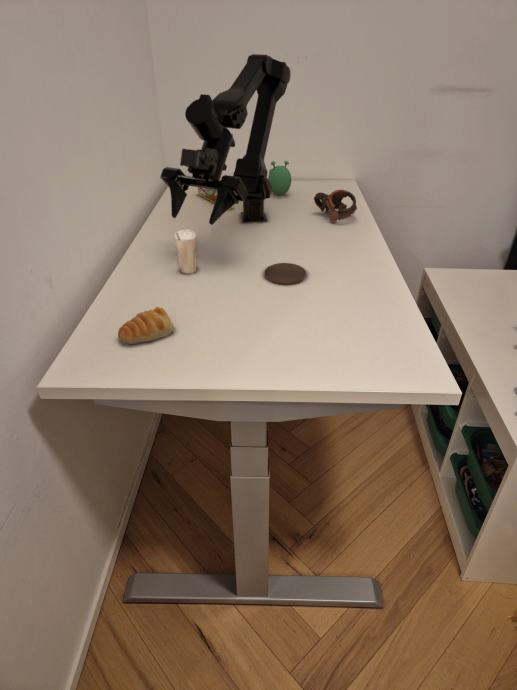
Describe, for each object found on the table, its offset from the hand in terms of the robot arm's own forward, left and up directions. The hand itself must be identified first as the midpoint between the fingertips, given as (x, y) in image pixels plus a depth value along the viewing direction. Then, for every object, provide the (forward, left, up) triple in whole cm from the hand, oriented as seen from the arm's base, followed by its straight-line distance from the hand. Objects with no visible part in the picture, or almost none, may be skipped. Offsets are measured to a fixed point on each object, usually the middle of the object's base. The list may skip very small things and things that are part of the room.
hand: (191, 220), depth 99 cm
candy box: (-40, +6, -10) cm, 42 cm away
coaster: (+7, +19, -10) cm, 23 cm away
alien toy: (-44, +26, -10) cm, 52 cm away
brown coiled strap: (-24, +38, -10) cm, 46 cm away
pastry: (+26, -9, -10) cm, 29 cm away
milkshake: (+3, -2, -10) cm, 11 cm away
